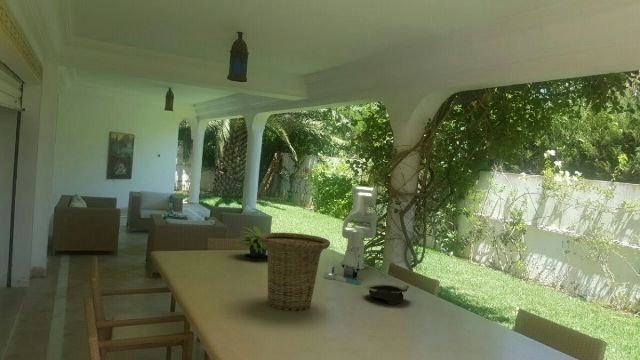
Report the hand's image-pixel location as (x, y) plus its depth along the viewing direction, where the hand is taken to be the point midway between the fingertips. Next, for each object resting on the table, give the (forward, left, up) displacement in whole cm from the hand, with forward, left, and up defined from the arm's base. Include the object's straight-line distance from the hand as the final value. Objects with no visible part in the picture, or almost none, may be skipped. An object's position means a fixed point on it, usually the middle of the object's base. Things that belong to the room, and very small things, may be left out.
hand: (350, 276), depth 309 cm
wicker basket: (+77, +5, -2) cm, 77 cm away
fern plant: (+2, -74, -2) cm, 74 cm away
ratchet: (+9, -1, -2) cm, 9 cm away
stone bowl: (+29, +36, -2) cm, 46 cm away
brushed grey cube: (0, 0, -1) cm, 1 cm away
